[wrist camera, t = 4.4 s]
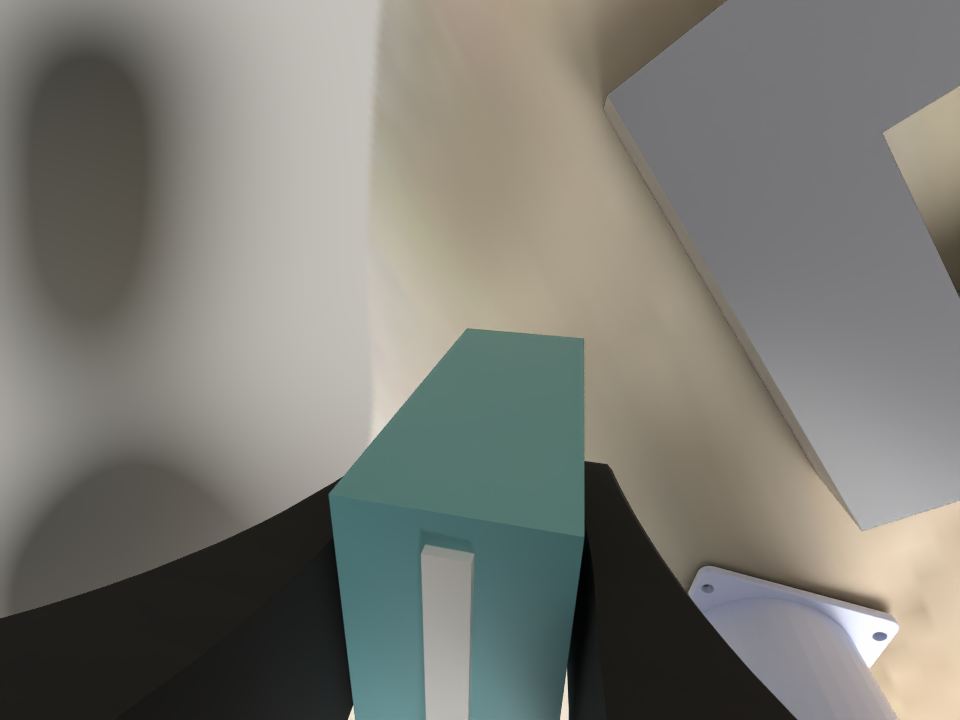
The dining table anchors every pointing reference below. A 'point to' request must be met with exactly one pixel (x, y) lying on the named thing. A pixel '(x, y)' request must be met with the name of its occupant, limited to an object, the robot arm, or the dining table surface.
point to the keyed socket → (817, 226)
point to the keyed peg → (468, 537)
